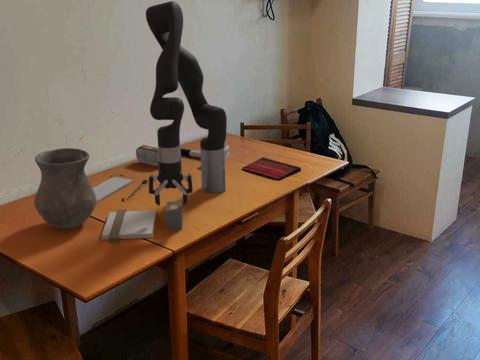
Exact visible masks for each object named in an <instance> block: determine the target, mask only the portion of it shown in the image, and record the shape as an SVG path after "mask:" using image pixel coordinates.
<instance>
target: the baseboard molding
mask: <svg viewBox="0 0 480 360" xmlns="http://www.w3.org/2000/svg"><path fill="white" fill-rule="evenodd" d="M116 176H117V177H116ZM123 177H124V178H123ZM133 182H134V177H132V178H131V179H130V177H129V176H128V177H127V178H125V175H122V174H119V177H118V175H116V174H115V176H114V177H112V176H110V177H109V179H107V180H105V181H103V182H102V183H101V182H100V184H98V185H96V186H94V187H92V189H93V191H94V193H95V195H96V199H97V201H96V204H98V203H100V202H101V201H103V200H104V199H107V198H109V197H110V196H111V194H112V195H113V194H115V193H117V192H119V191H121V190H122V189H124V188H125V187H127V186H129V185H130V184H132V183H133ZM128 184H129V185H128ZM123 187H124V188H123ZM116 191H117V192H116Z"/></svg>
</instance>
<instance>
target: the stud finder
mask: <svg viewBox="0 0 480 360" xmlns="http://www.w3.org/2000/svg"><path fill="white" fill-rule="evenodd" d="M165 222H166V230H167V231H181V230H183V222H184V221H183V200H177V201H176V200H175V201H174V200H173V201H172V200H171V201H166V206H165Z"/></svg>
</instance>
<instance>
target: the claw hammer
mask: <svg viewBox="0 0 480 360" xmlns="http://www.w3.org/2000/svg"><path fill="white" fill-rule="evenodd" d="M225 146H226V147H224V156H225V162H226V161H227V160H228V159H229V158H230V146H229V145H228V144H226V145H225ZM180 149H181V156H185V157H194V158H200V159H201V152H200V150H194V149H187V148H181V147H180Z"/></svg>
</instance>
